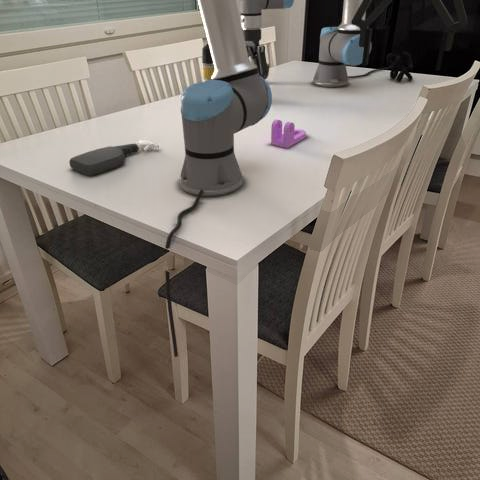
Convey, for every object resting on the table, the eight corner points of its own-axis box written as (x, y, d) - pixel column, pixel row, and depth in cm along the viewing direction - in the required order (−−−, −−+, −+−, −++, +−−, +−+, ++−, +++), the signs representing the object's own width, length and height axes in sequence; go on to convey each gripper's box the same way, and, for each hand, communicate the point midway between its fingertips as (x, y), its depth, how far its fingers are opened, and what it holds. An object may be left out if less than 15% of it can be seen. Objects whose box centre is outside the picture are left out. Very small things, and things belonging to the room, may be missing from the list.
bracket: (287, 148, 130) (288, 124, 126) (271, 144, 133) (271, 121, 129) (309, 135, 139) (310, 113, 135) (293, 132, 142) (294, 110, 138)
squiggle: (400, 92, 202) (376, 71, 205) (417, 76, 202) (392, 56, 205) (405, 81, 191) (380, 59, 194) (423, 64, 191) (397, 42, 194)
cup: (250, 84, 198) (249, 65, 194) (257, 80, 204) (257, 62, 200) (265, 85, 195) (265, 66, 191) (272, 82, 201) (272, 63, 197)
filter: (220, 99, 177) (217, 15, 161) (206, 100, 176) (202, 16, 160) (215, 96, 182) (212, 14, 166) (202, 97, 180) (197, 14, 164)
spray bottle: (67, 168, 120) (139, 144, 136) (91, 178, 114) (163, 151, 130) (65, 157, 118) (137, 134, 134) (89, 167, 112) (162, 142, 128)
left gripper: (503, -68, 74) (470, 67, 85) (352, -62, 82) (340, 59, 94) (506, -70, 68) (471, 75, 79) (343, -64, 77) (332, 66, 88)
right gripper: (224, 26, 168) (226, 87, 180) (262, 32, 152) (261, 98, 164) (241, 24, 172) (241, 84, 183) (279, 30, 156) (277, 95, 168)
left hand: (400, 67), depth 86 cm, fingers open, 13 cm apart
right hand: (251, 91), depth 174 cm, fingers open, 10 cm apart
